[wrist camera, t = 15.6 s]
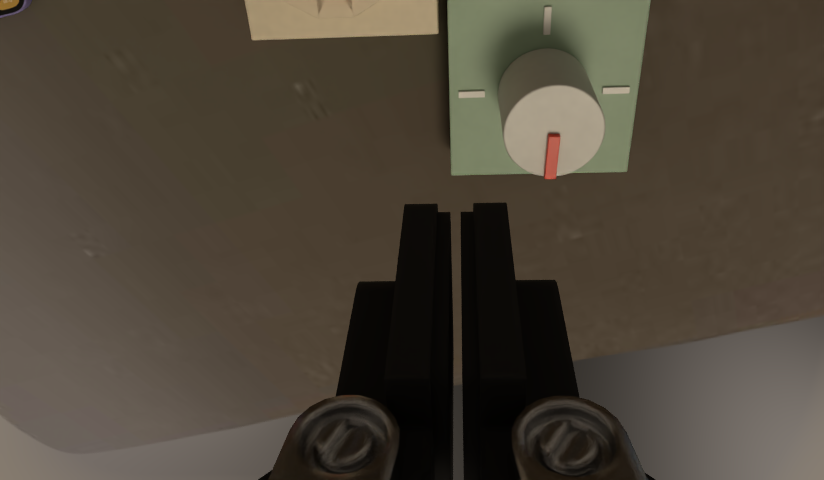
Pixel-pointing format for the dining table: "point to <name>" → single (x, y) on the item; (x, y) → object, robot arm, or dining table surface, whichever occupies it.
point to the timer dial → (549, 113)
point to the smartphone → (12, 6)
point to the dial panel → (530, 30)
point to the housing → (340, 18)
